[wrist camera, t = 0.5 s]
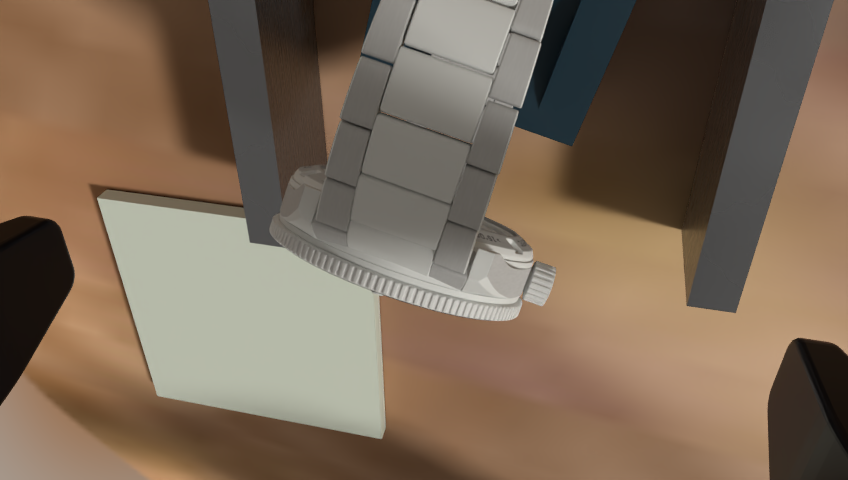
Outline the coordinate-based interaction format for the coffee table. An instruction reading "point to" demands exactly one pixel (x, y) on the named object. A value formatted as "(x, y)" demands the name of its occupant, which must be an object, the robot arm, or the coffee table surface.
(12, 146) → the coffee table surface
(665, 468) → the coffee table surface
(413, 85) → the watch
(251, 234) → the grey u-shaped piece
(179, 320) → the pad
